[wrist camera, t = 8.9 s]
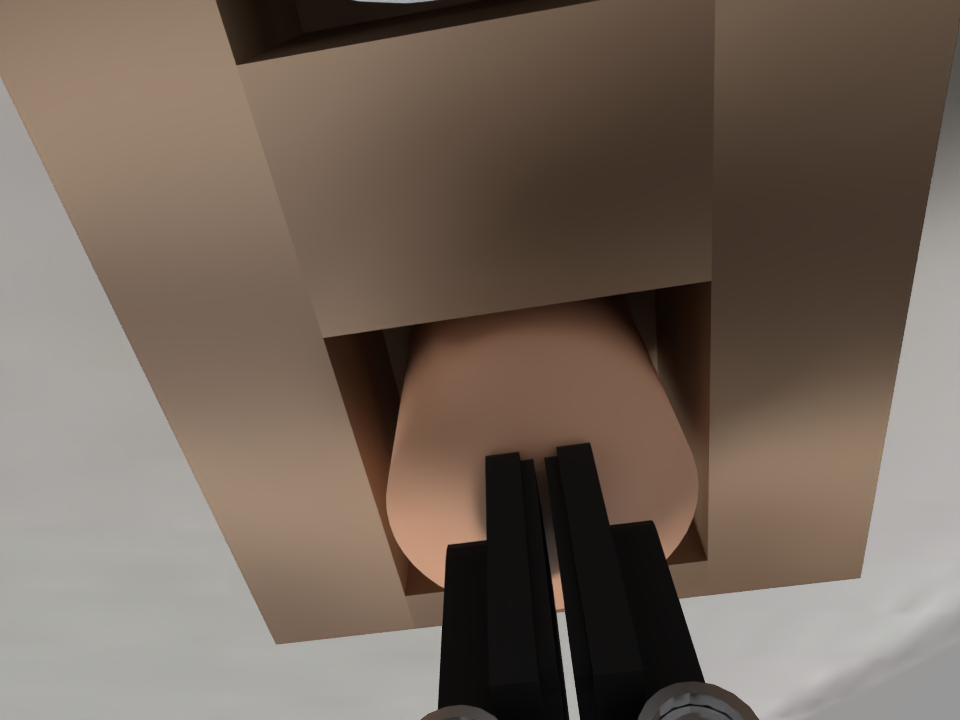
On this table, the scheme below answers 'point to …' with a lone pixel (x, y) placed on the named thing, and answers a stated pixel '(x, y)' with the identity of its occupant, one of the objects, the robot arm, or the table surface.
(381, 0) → the button middle
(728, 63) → the wooden candle holder
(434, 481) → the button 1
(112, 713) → the table surface
